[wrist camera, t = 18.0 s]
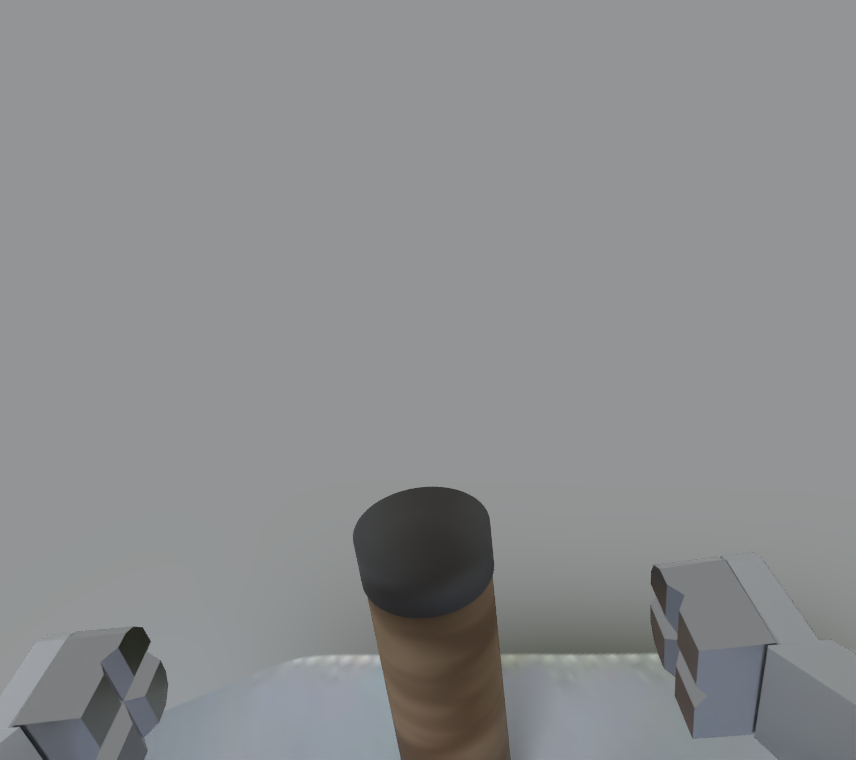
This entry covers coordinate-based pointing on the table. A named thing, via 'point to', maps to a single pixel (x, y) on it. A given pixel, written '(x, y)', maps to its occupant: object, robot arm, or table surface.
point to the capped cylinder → (435, 622)
